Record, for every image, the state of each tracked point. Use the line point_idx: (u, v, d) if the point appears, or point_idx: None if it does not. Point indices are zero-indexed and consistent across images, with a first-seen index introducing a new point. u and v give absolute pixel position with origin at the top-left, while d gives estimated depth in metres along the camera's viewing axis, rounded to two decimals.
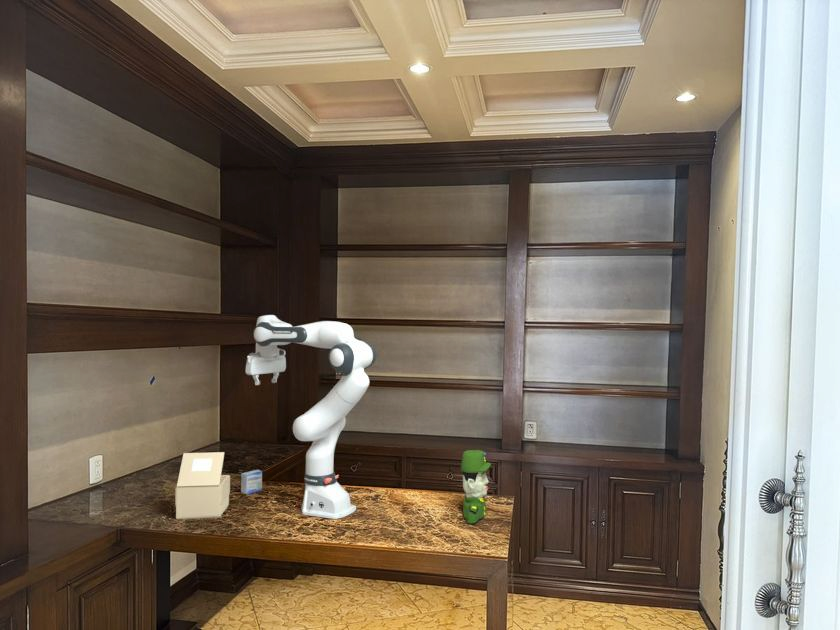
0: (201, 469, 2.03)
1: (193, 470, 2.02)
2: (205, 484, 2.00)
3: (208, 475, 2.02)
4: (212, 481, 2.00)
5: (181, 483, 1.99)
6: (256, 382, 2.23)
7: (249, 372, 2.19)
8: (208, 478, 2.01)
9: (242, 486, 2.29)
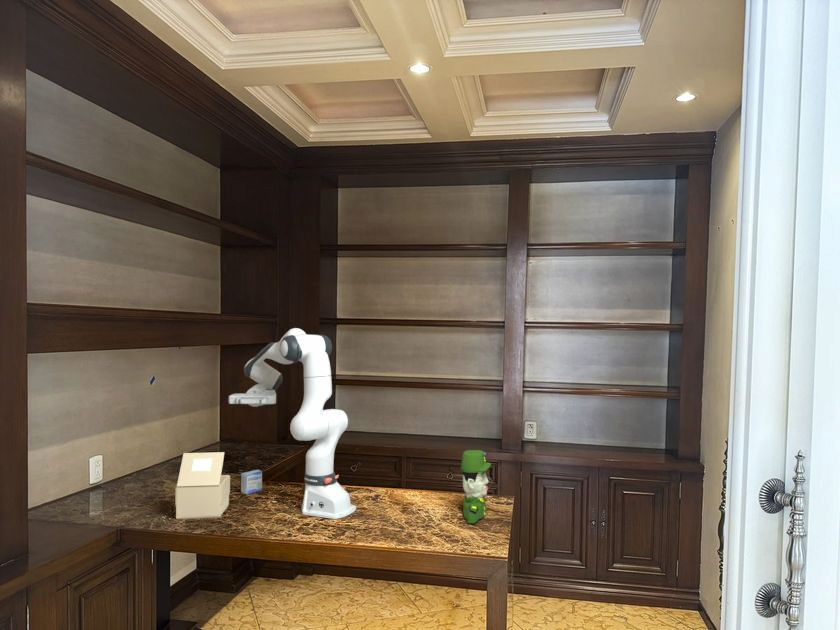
0: (201, 469, 2.03)
1: (193, 470, 2.02)
2: (205, 484, 2.00)
3: (208, 475, 2.02)
4: (212, 481, 2.00)
5: (181, 483, 1.99)
6: None
7: None
8: (208, 478, 2.01)
9: (242, 486, 2.29)
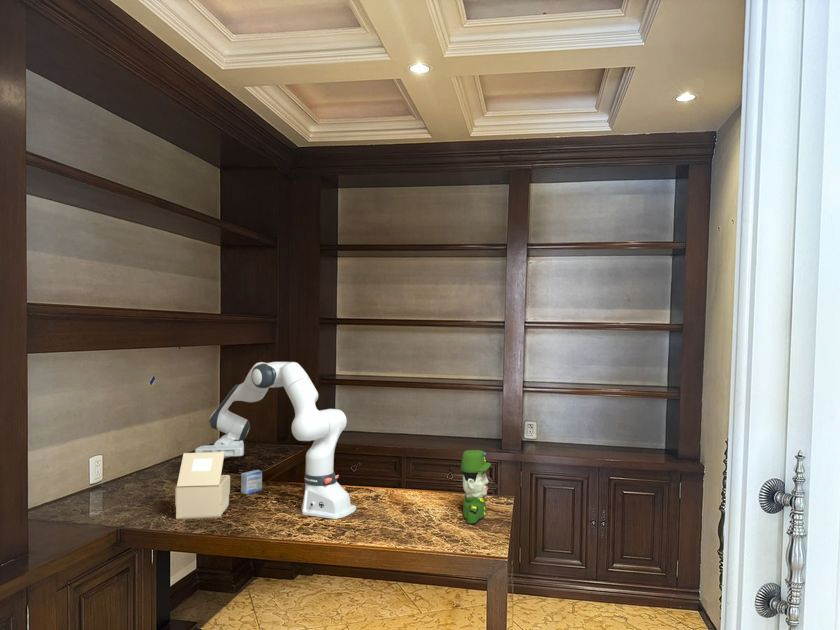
0: (201, 469, 2.03)
1: (193, 470, 2.02)
2: (205, 484, 2.00)
3: (208, 475, 2.02)
4: (212, 481, 2.00)
5: (181, 483, 1.99)
6: None
7: (195, 450, 2.27)
8: (208, 478, 2.01)
9: (242, 486, 2.29)
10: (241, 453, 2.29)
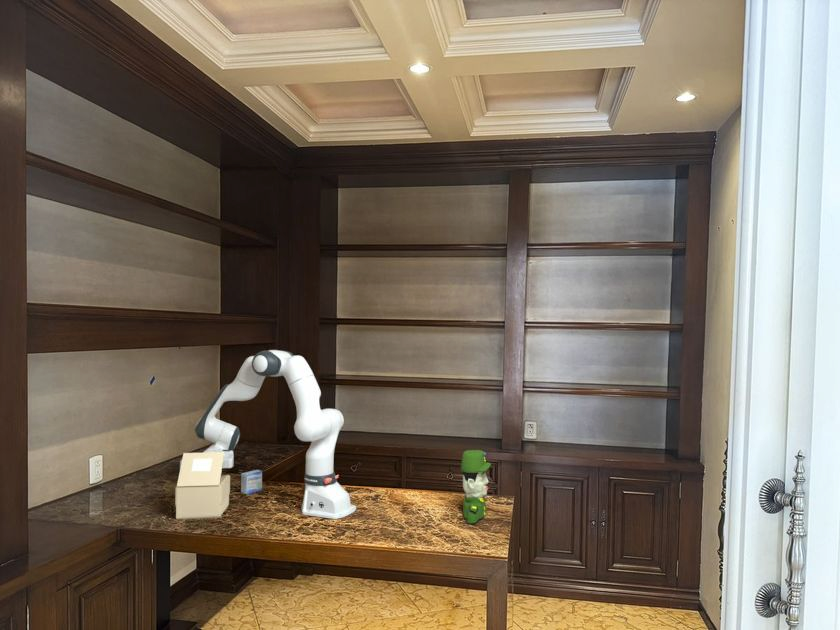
0: (201, 469, 2.03)
1: (193, 470, 2.02)
2: (205, 484, 2.00)
3: (208, 475, 2.02)
4: (212, 481, 2.00)
5: (181, 483, 1.99)
6: None
7: None
8: (208, 478, 2.01)
9: (242, 486, 2.29)
10: (230, 465, 2.10)
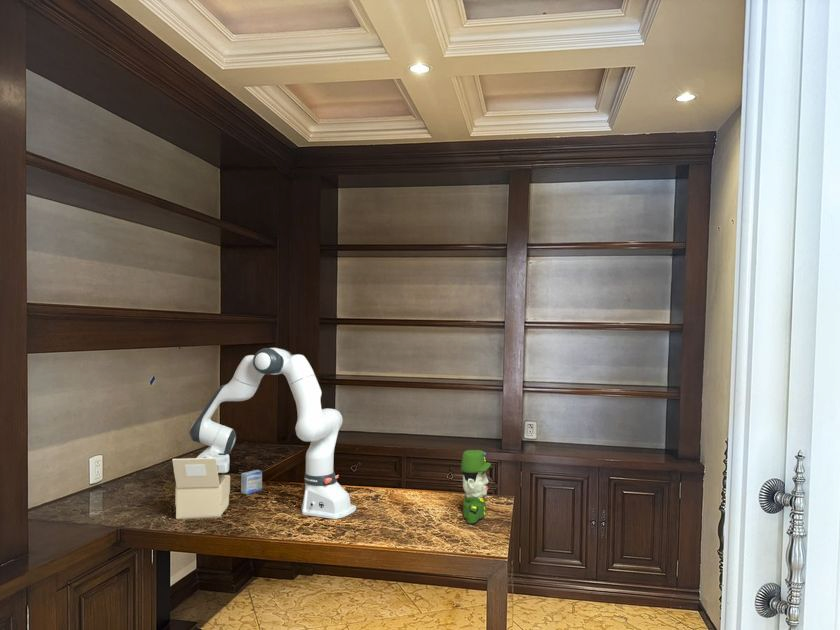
0: (197, 474, 1.96)
1: (189, 475, 1.96)
2: (205, 486, 1.99)
3: (205, 478, 1.98)
4: (211, 483, 1.99)
5: (180, 485, 1.98)
6: None
7: None
8: (206, 481, 1.98)
9: (242, 486, 2.29)
10: (226, 469, 2.03)
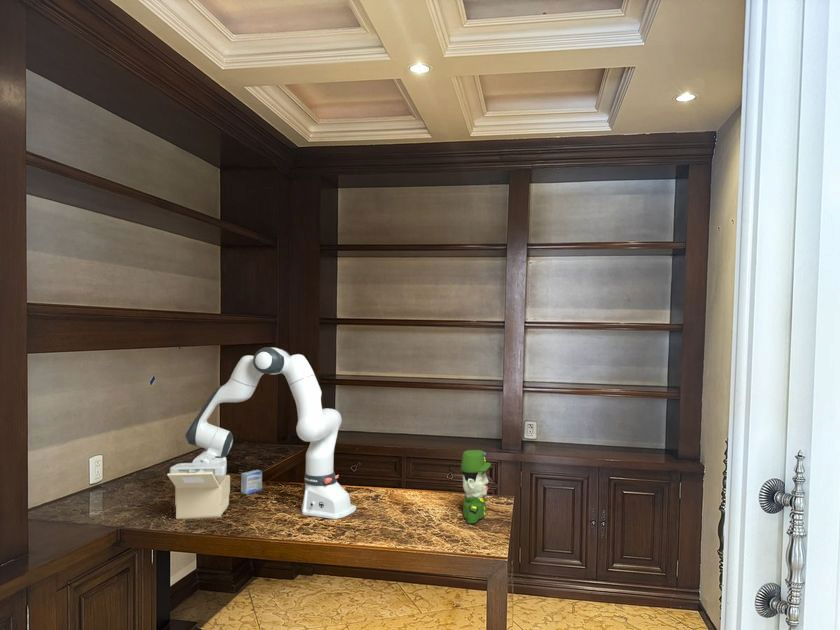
0: (195, 481, 1.94)
1: (187, 482, 1.94)
2: None
3: (204, 483, 1.96)
4: (211, 485, 1.99)
5: (180, 487, 1.98)
6: None
7: None
8: (205, 484, 1.97)
9: (242, 486, 2.29)
10: (223, 473, 1.99)
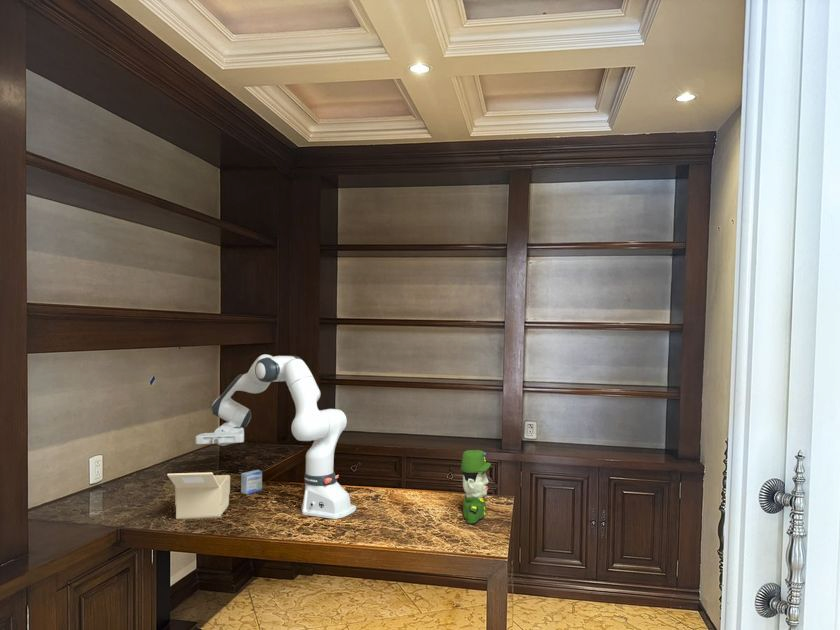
0: (195, 481, 1.94)
1: (187, 482, 1.94)
2: None
3: (204, 483, 1.96)
4: (211, 485, 1.99)
5: (180, 487, 1.98)
6: None
7: (195, 438, 2.28)
8: (205, 484, 1.97)
9: (242, 486, 2.29)
10: (241, 439, 2.30)
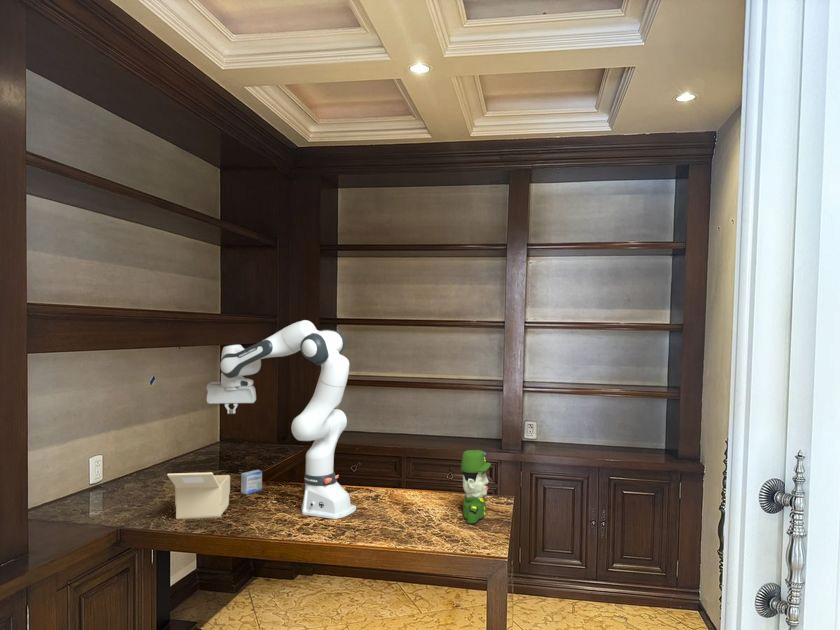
0: (195, 481, 1.94)
1: (187, 482, 1.94)
2: None
3: (204, 483, 1.96)
4: (211, 485, 1.99)
5: (180, 487, 1.98)
6: None
7: None
8: (205, 484, 1.97)
9: (242, 486, 2.29)
10: (254, 401, 2.28)
